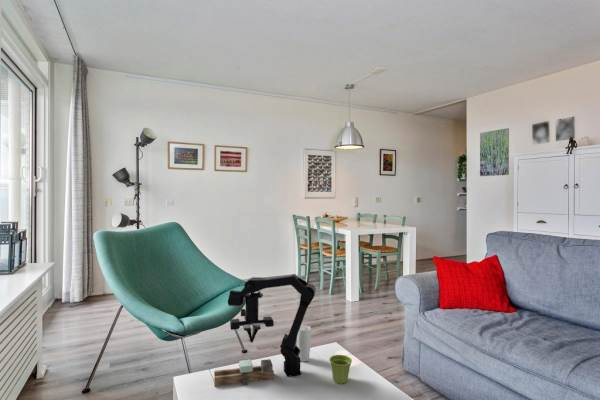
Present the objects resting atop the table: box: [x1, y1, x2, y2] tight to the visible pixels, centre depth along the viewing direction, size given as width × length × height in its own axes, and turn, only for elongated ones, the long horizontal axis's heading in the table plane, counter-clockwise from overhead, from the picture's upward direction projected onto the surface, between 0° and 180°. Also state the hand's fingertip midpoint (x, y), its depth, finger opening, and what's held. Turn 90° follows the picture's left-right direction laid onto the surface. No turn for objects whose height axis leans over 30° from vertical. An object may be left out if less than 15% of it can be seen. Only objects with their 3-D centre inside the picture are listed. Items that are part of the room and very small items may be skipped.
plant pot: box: [329, 354, 353, 385], centre depth 148 cm, size 9×9×9 cm
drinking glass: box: [296, 324, 312, 363], centre depth 167 cm, size 7×7×15 cm
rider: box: [238, 359, 254, 373], centre depth 148 cm, size 5×6×4 cm
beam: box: [213, 358, 275, 387], centre depth 148 cm, size 24×9×6 cm, turn 104°
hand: (251, 342), depth 157 cm, fingers closed
